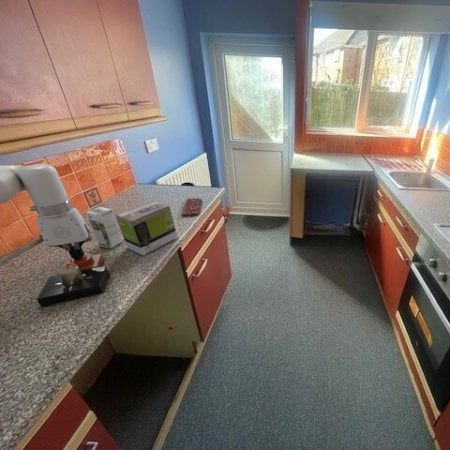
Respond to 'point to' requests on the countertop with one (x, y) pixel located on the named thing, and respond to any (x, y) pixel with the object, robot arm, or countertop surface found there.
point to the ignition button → (78, 260)
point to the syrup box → (104, 227)
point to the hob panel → (73, 287)
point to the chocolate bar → (192, 207)
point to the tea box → (147, 227)
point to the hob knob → (70, 274)
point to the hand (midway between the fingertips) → (79, 258)
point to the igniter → (86, 262)
